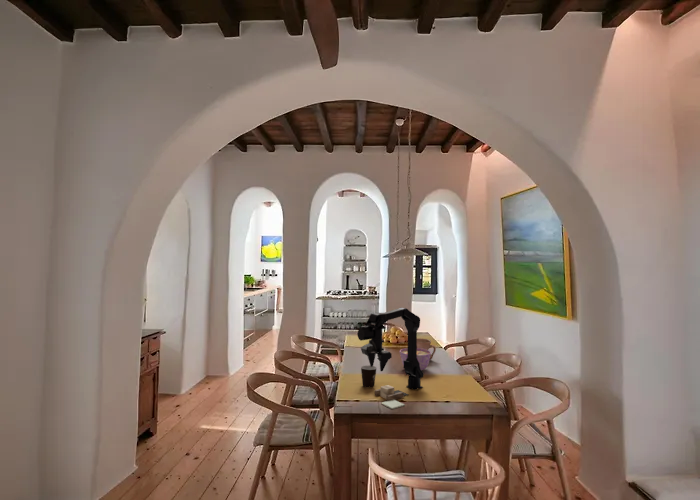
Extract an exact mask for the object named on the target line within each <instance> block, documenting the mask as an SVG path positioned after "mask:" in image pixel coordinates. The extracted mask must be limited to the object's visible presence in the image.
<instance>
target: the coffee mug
mask: <svg viewBox="0 0 700 500" xmlns="http://www.w3.org/2000/svg"><path fill="white" fill-rule="evenodd" d="M360 371H361V381H362V382H361V383H362V387H364V388H370V389H371V388H374V387H375V383H376V376H377V375H376V374H377V366H374V365H373V367H371V366H370V364H369V365H368V364H367V365H362V366H360Z"/></svg>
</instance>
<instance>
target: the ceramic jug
mask: <svg viewBox="0 0 700 500" xmlns="http://www.w3.org/2000/svg"><path fill="white" fill-rule="evenodd" d="M431 343H432V341H431V340H430V339H428V338H421V337H420V338H417V348H420V349H426V350H429V349H430V348H433V351H432V352H431V356H430V360H429V362H430V361H431V360H432V359H433V357H434V355H435V353H436V349H437V347H436V346H435V345H433V344H431Z"/></svg>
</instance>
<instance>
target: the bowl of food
mask: <svg viewBox="0 0 700 500" xmlns="http://www.w3.org/2000/svg"><path fill="white" fill-rule="evenodd" d="M399 355H400V359H401V363H402V364H401V365H403V366H404V360H405V361H406V359H407V357H408V347H407V348H401V349H400V350H399ZM431 355H432V352H431V350H429V349H428V350H426V349H420V348H417V359H418V362H419V364H420V369H421V371H422V372H423V370H425V369H427V368H428V367H429V364H430V361H431V360H430V356H431ZM429 360H430V361H429Z"/></svg>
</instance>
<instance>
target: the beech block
mask: <svg viewBox="0 0 700 500" xmlns="http://www.w3.org/2000/svg"><path fill="white" fill-rule="evenodd" d="M379 389H380V395H379V397H381V398H383V399H385V400H386V396H387V395H391V394H394V391H395V387H394V386H392V385H389V384H387V385H381V386H380V388H379Z"/></svg>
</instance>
